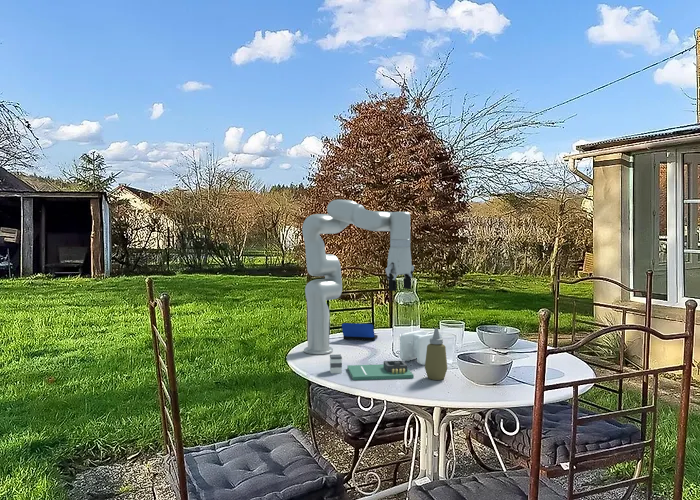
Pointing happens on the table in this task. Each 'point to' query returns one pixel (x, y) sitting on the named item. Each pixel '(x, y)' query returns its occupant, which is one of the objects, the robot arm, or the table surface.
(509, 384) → the table surface
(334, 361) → the plug
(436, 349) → the squeeze bottle
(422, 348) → the cable organizer
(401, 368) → the board
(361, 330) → the laptop
